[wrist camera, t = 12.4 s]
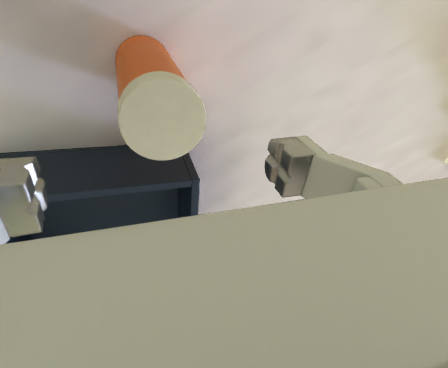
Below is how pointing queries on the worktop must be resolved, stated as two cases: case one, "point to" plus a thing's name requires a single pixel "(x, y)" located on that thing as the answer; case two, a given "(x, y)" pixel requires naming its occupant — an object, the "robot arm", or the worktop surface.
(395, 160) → the worktop surface
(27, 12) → the worktop surface
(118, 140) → the worktop surface
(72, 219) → the basket
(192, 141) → the tube
